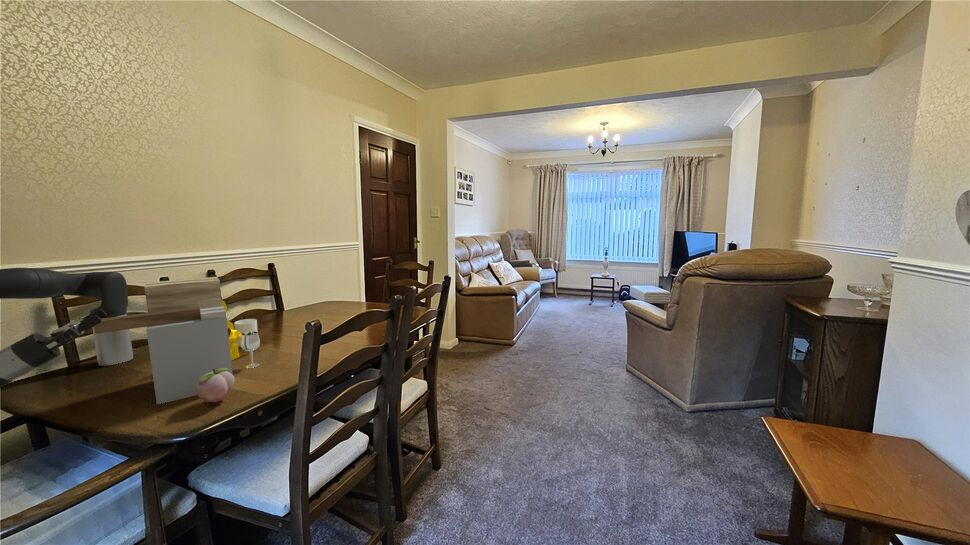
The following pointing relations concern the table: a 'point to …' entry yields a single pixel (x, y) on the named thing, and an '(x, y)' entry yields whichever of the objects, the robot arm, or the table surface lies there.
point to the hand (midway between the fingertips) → (101, 314)
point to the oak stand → (183, 294)
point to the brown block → (158, 318)
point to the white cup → (245, 327)
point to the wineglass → (250, 345)
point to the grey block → (186, 355)
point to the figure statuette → (232, 337)
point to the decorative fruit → (215, 385)
